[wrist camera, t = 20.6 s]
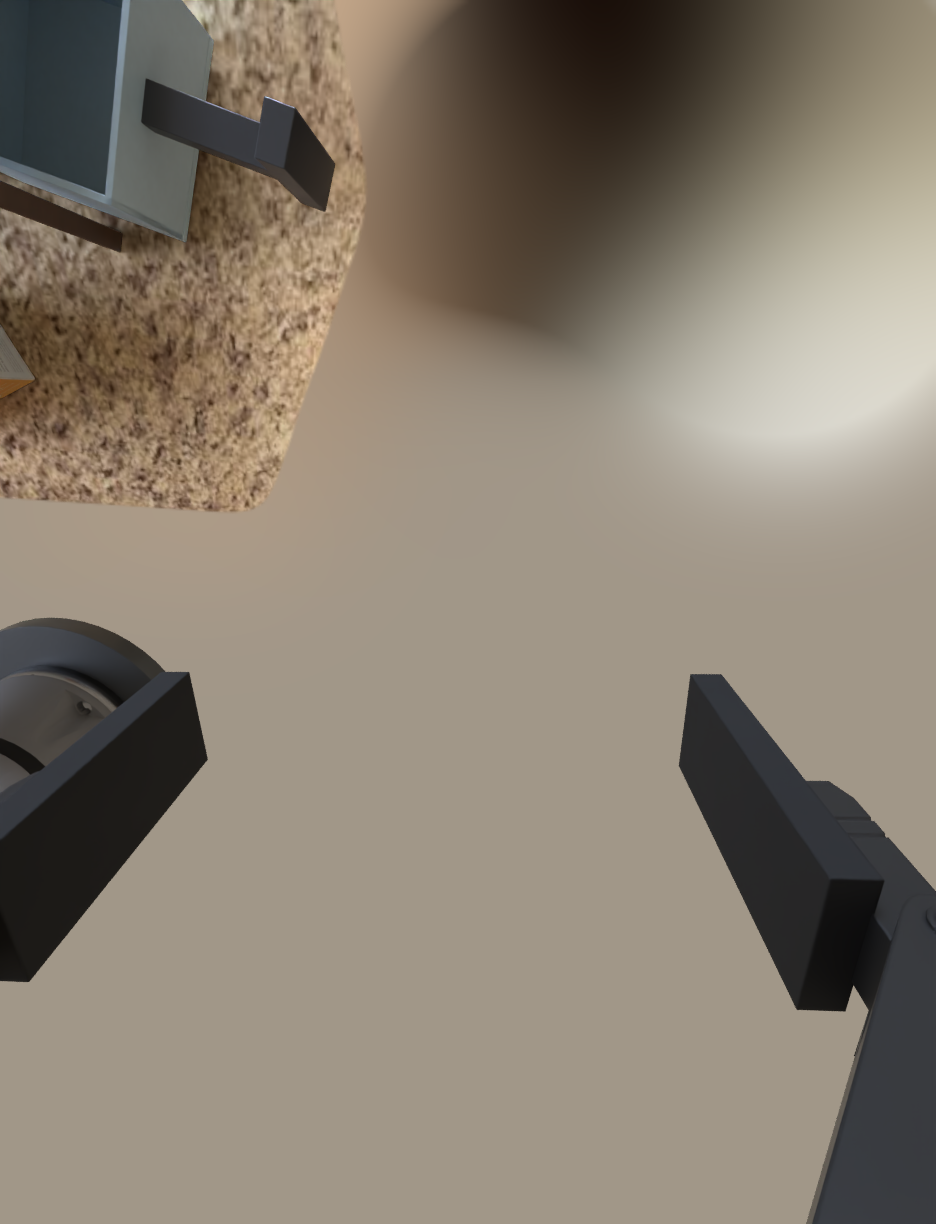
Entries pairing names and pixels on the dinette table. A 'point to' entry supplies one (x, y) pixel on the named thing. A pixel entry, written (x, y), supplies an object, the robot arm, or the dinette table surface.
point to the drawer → (133, 111)
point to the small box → (11, 367)
